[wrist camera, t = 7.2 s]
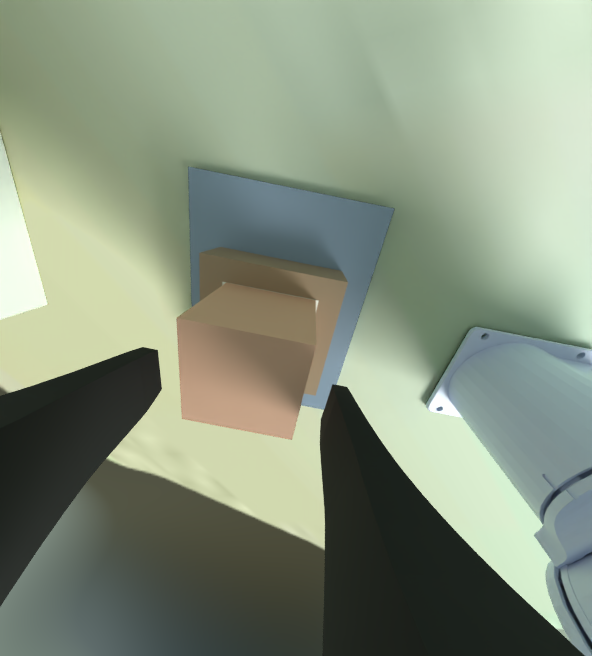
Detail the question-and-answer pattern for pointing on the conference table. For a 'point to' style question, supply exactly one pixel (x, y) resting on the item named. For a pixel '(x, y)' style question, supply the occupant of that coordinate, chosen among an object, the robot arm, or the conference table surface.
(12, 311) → the gable box
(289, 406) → the terracotta cube
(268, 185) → the plate
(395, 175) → the conference table surface
